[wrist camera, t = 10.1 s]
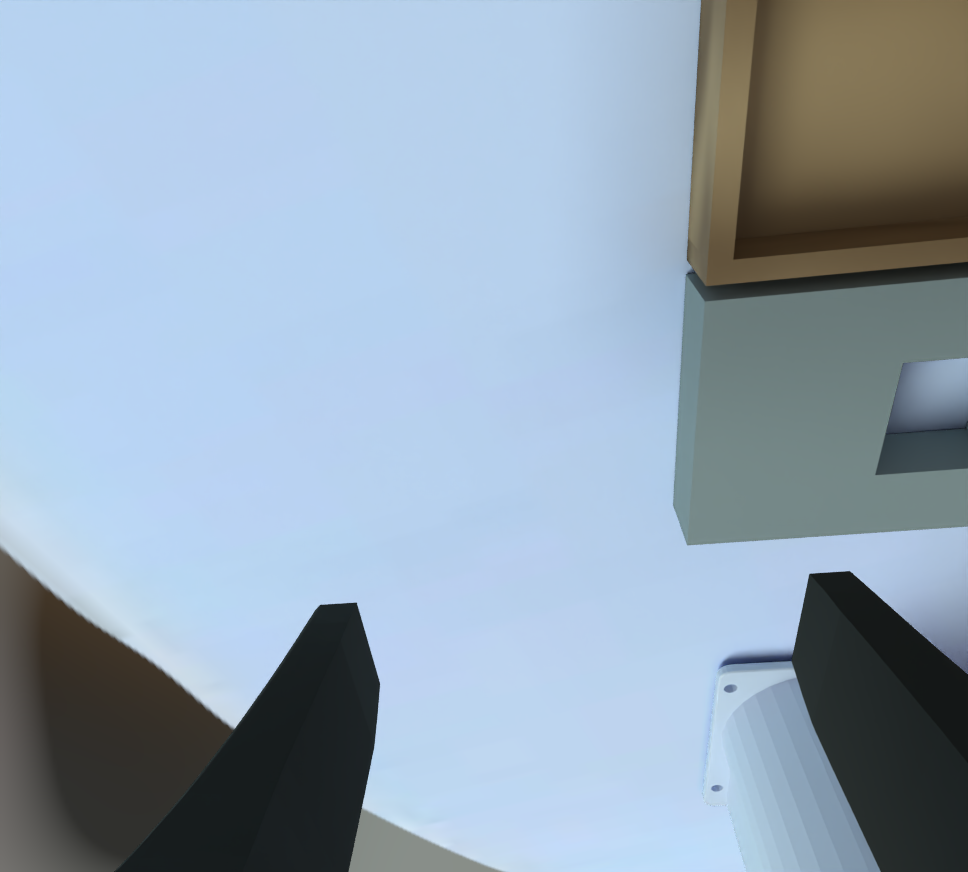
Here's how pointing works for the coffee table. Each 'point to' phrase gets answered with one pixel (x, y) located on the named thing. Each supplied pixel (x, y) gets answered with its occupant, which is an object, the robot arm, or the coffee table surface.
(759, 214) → the tray
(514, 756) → the coffee table surface
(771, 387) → the lock housing
